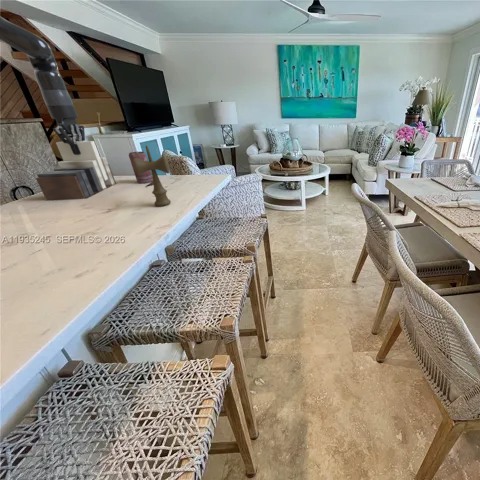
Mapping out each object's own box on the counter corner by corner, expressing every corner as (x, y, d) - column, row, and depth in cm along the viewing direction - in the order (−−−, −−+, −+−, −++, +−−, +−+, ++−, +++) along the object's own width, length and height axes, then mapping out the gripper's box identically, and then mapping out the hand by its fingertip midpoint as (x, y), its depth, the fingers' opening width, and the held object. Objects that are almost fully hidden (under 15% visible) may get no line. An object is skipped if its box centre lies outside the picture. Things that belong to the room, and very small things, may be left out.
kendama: (177, 205, 93) (162, 145, 84) (146, 209, 90) (126, 147, 81) (178, 200, 98) (164, 143, 89) (149, 203, 95) (130, 145, 86)
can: (152, 182, 121) (143, 150, 115) (155, 185, 117) (146, 152, 110) (137, 184, 118) (126, 152, 111) (139, 187, 113) (129, 153, 107)
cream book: (72, 181, 106) (55, 142, 100) (76, 180, 108) (59, 141, 101) (105, 180, 108) (90, 141, 101) (108, 179, 110) (94, 141, 103)
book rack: (45, 204, 94) (27, 169, 89) (84, 187, 114) (71, 157, 108) (88, 202, 96) (73, 167, 91) (119, 186, 116) (109, 156, 110)
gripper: (61, 104, 101) (80, 151, 109) (32, 104, 89) (56, 157, 97) (83, 104, 102) (100, 151, 110) (57, 104, 90) (79, 156, 98)
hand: (79, 153), depth 103 cm, fingers closed on cream book, 2 cm apart
